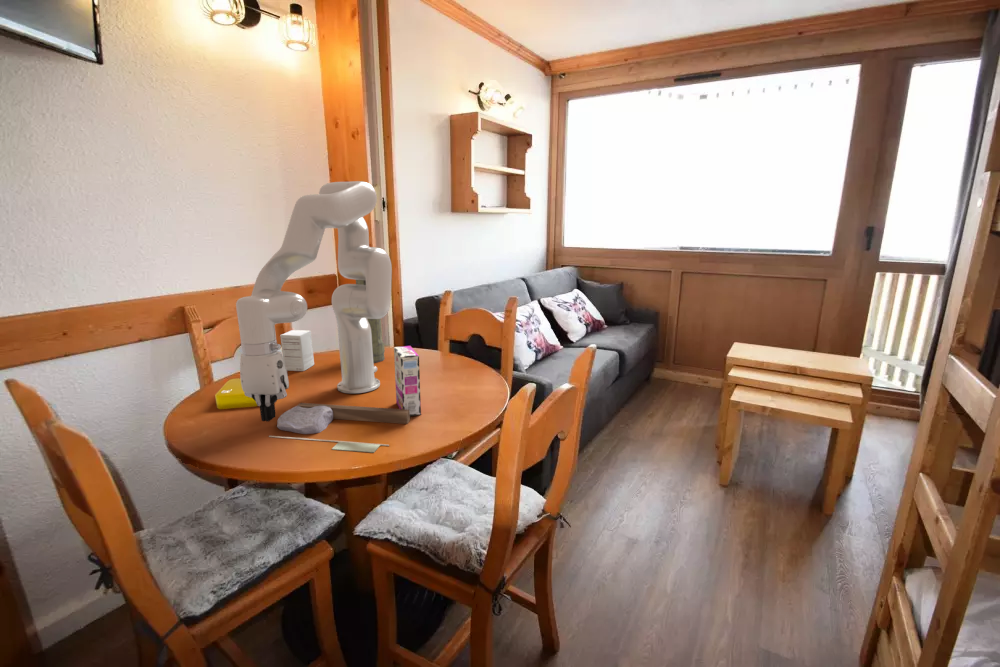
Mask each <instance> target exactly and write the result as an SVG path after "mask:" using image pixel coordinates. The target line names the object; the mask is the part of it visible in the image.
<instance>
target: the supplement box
mask: <svg viewBox="0 0 1000 667" xmlns="http://www.w3.org/2000/svg"><path fill="white" fill-rule="evenodd" d="M279 337H280V342H281V344H280V345H281V354H282V356H283V359H284V362H285V366H286V370H287V372H288V371H291V372H292V371H294V372H305V371H306V370H308V369H310V368H311V367H313V366H314V365H315V358H314V349H313V341H312V340H313V339H312V331H311V330H306V329H305V330H304V329H303V330H302V329H291V330H289V331H286V332H285V333H282V334H280V336H279Z"/></svg>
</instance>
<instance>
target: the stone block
mask: <svg viewBox="0 0 1000 667" xmlns="http://www.w3.org/2000/svg"><path fill="white" fill-rule="evenodd" d="M333 420H334V419H333V411H332V410H331V408H330V407H327V406H315V407H312V408H302V407H300V406H297V405H295V406H294V407H292V408H290V409H287V410H286V411H285V412H283V413H281V415H280V416H279V417H278V419H277V421H276V422H277V425H276V427H277V428H278V430H281V431H286V432H291V433H293V434H294V433H296V434H301V435H311V434H319V433H322V431H324V430H326V429H327V428H328V426H329V425H330V424H331V423H332V421H333Z"/></svg>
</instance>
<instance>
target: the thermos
mask: <svg viewBox="0 0 1000 667" xmlns="http://www.w3.org/2000/svg"><path fill="white" fill-rule="evenodd" d="M355 284H359V285H366V280H355ZM367 320H368V322H369V324H370V327H371V333H372V349H373V363H374V364H377V363H380V362H383V361H385V359H386V358H385V351H386V350H385V343H384V340H383V330H382V329H383V328H382V318H381V319H368V318H367Z"/></svg>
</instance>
